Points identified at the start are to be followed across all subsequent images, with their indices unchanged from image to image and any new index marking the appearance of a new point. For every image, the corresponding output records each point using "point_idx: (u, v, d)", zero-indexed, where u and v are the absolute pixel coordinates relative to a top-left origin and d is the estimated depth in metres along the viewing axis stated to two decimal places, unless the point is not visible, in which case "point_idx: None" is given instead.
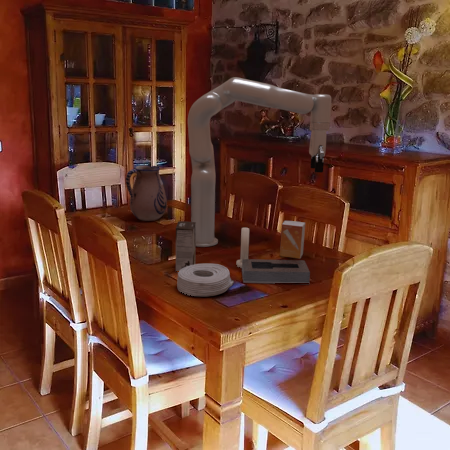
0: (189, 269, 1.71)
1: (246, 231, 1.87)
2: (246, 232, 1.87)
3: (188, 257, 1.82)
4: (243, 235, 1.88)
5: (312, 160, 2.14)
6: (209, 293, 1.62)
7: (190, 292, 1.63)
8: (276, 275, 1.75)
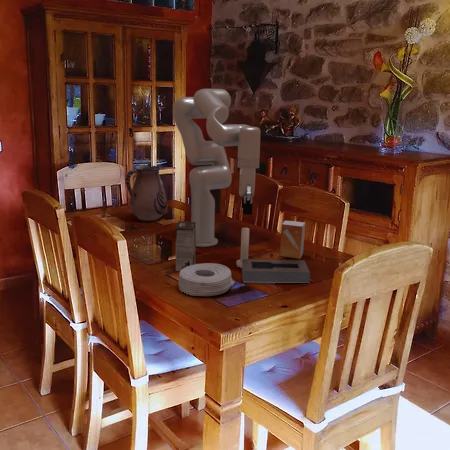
0: (190, 269, 1.71)
1: (246, 231, 1.87)
2: (246, 232, 1.87)
3: (188, 257, 1.82)
4: (243, 235, 1.88)
5: (243, 199, 1.90)
6: (210, 293, 1.63)
7: (192, 292, 1.63)
8: (276, 275, 1.75)
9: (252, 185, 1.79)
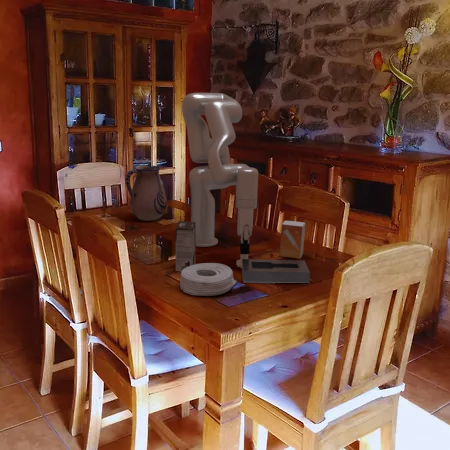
0: (192, 269, 1.72)
1: None
2: None
3: (188, 257, 1.82)
4: None
5: None
6: (212, 292, 1.63)
7: (193, 291, 1.63)
8: (276, 275, 1.75)
9: (250, 225, 1.83)
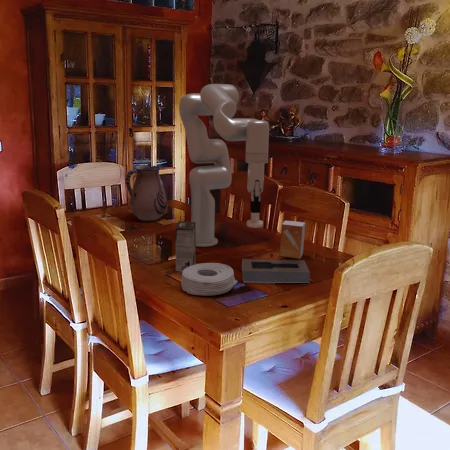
0: (193, 268, 1.72)
1: None
2: None
3: (188, 257, 1.82)
4: None
5: (252, 201, 1.81)
6: (213, 292, 1.63)
7: (194, 291, 1.64)
8: (276, 275, 1.75)
9: (261, 180, 1.73)
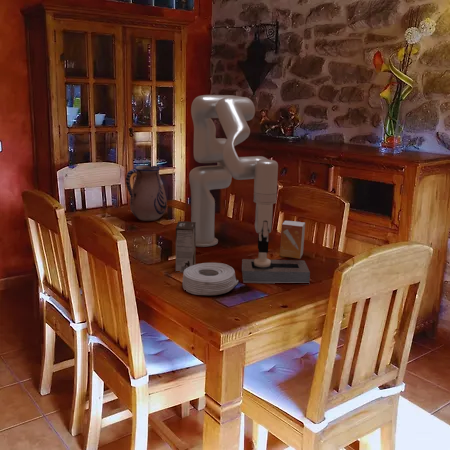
0: (194, 268, 1.72)
1: None
2: None
3: (188, 257, 1.82)
4: None
5: None
6: (214, 292, 1.63)
7: (195, 291, 1.64)
8: (276, 275, 1.75)
9: (269, 221, 1.71)
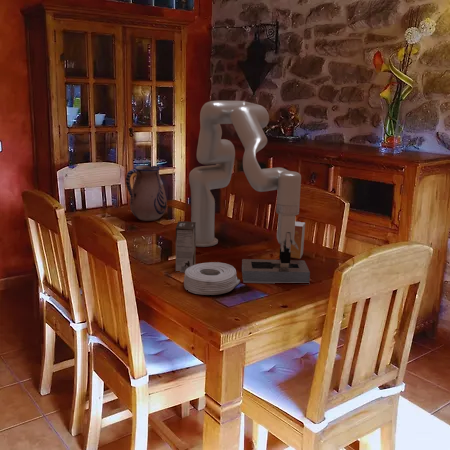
0: (196, 268, 1.72)
1: None
2: None
3: (188, 257, 1.82)
4: None
5: None
6: (216, 292, 1.64)
7: (197, 290, 1.64)
8: (276, 275, 1.75)
9: (292, 233, 1.72)
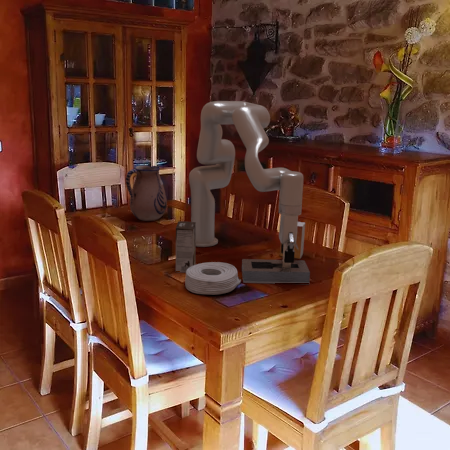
0: (197, 268, 1.73)
1: None
2: None
3: (188, 257, 1.82)
4: None
5: (283, 244, 1.83)
6: (217, 291, 1.64)
7: (198, 290, 1.64)
8: (276, 275, 1.75)
9: (294, 233, 1.72)
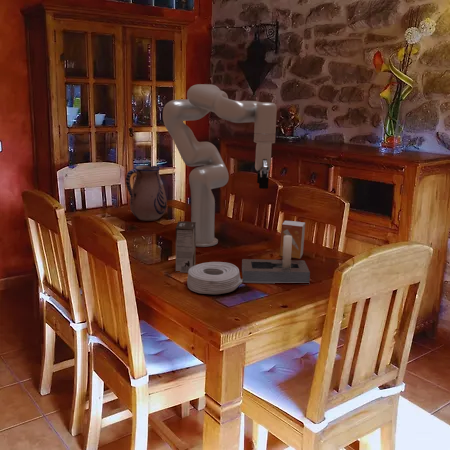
0: (199, 267, 1.73)
1: (289, 239, 1.77)
2: (289, 240, 1.77)
3: (188, 257, 1.82)
4: (286, 243, 1.77)
5: (258, 174, 1.95)
6: (219, 291, 1.64)
7: (200, 290, 1.65)
8: (276, 275, 1.75)
9: (268, 159, 1.84)
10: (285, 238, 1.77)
